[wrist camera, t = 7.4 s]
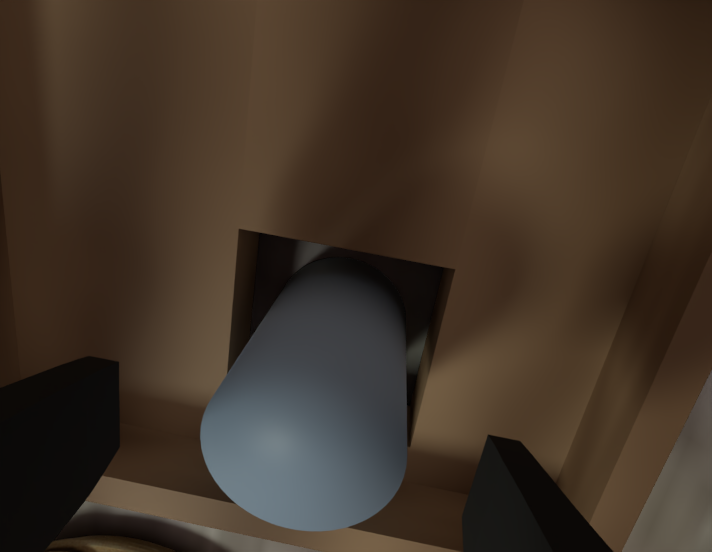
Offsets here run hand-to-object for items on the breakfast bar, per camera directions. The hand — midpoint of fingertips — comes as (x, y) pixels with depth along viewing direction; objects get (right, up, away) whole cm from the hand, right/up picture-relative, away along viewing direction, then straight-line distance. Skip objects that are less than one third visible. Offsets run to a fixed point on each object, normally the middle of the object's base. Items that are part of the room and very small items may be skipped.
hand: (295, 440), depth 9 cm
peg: (+1, +2, +5) cm, 6 cm away
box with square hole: (0, +5, +4) cm, 7 cm away
